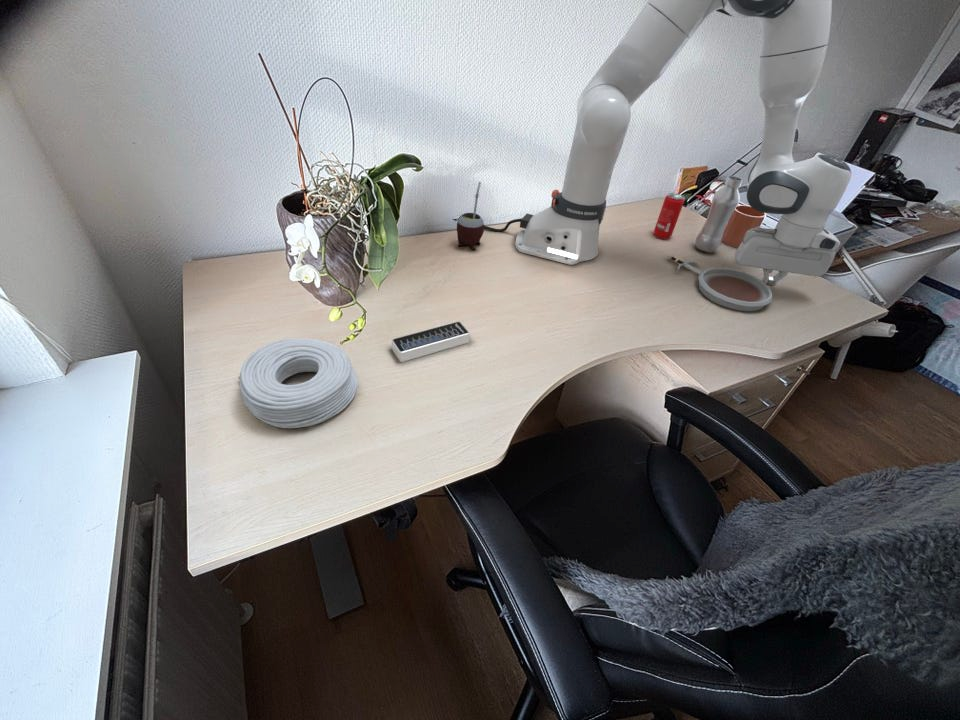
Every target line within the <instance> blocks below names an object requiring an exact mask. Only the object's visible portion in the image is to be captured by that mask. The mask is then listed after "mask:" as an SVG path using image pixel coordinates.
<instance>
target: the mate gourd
mask: <svg viewBox="0 0 960 720" xmlns="http://www.w3.org/2000/svg"><path fill="white" fill-rule="evenodd" d="M481 184H482V182H481V181H479V182H478V184H477V188H476V193H475V195H474V198H475V200H474V206H473V207H474V208H473V212H464V213H462V214H461V215H460V217H459V218H458V219H457V223H456V234H457V241H458V244H457V247H458V248H459V249H460V248H469V249H470V251H472V252H475V251H476V248H475V247H476V246H480V245H481V242H480V241H481V239H482V237H483V235H484V231H485V229H484V226H485V224H484V223H485V222H484V220H483V217H482V216H481V215H480V214H478V213H477V209H478V208H477V207H478V200H479V196H480V194H479V193H480V188H481Z"/></svg>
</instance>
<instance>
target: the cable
mask: <svg viewBox="0 0 960 720" xmlns="http://www.w3.org/2000/svg"><path fill="white" fill-rule="evenodd" d="M305 372H313V373H316V374H315V375H314V376H313V377H311V378H310V379H309V380H306V381H304V382H301V383H297V384H284V383H282V382H284V381H285V380H287V379H288V378H290V377H292V376H293V375H296V374H299V373H305ZM357 379H358V378H357V375H356V373H355V370H354V369H353V367H352V363H351V360H350V358H349V357H348V354H347V353H346V352H345V351H344V350H343V349H341V348H340V347H339V346H337V345H335V344H333V343H331V342H328V341H324V340H321V339H315V338H308V337H307V338H306V337H292V338H291V337H289V338H282V339H278V340H274V341H271V342H269V343H267V344H265V345H261V346H260V347H259V348H257V349H256V350H255V351H253V352H252V353H251V354H250V355H249V356H247V358H246V359H245V361H244V362H243V364H242V366H241V369H240V372H239V376H238V383H239V389H240V395H241V398H242V401H243V403H244V405H245V406H246V408H247V409H248V411H249V412H250V413H251V414H252V415H253V416H254V417H255V418H256V419H258V420H260V421H262V422H263V423H264V424H268V425H270V426H271V427H276V428H282V429H297V428H298V429H299V428H304V427H311V426H315V425H317V424H320V423H323V422H324V421H327V420H329V419H331V418H333V417H334V416H337V414H340V412H342V411H343V410H344V409H346V408H347V406H348V405H349V404H350V403H351V402H352V400H353V399H354V397H355V395H356V393H357V389H358V382H357V381H358V380H357Z"/></svg>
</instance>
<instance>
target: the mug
mask: <svg viewBox="0 0 960 720" xmlns="http://www.w3.org/2000/svg"><path fill="white" fill-rule="evenodd" d="M766 217H767V213H762V212H759V211H756V210H754V209H753V208H752V207H751V206H750V205H746V204H738V205H737V207H736V208H735V210H734V211H733V213H732V215H731V217H730V219H729V221H728V223H727V225H726V227H725V230H724V233H723V236H722V241H721V243H723V244H726V246H729V247H732V248H736V249H738V247H739V246H740V244H741V243H742V241H743V238H744V235H745V233H746V232H747V231H748V230H750V229H753V228H755V227H761V228H762V225H763V223H764V221H765V219H766ZM752 231H754V230H752Z"/></svg>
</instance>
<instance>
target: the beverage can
mask: <svg viewBox="0 0 960 720" xmlns="http://www.w3.org/2000/svg"><path fill="white" fill-rule="evenodd" d="M685 198H686V196H684V195H683V194H681V193H678V192H668V193H667V194H666V195H665V197H664V200H663V203H662V206H661V208H660V211H659V215H658V217H657V220H656V223H655V227H654V230H653V233H654V234H653V236H654V237H655V238H657V239H659V240H669V239H670V238H671V236H673V232H674V231H675V228H676V225H677V222H678V219H679V217H680V215H681V212H682V208H683V206H684V204H685Z"/></svg>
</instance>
